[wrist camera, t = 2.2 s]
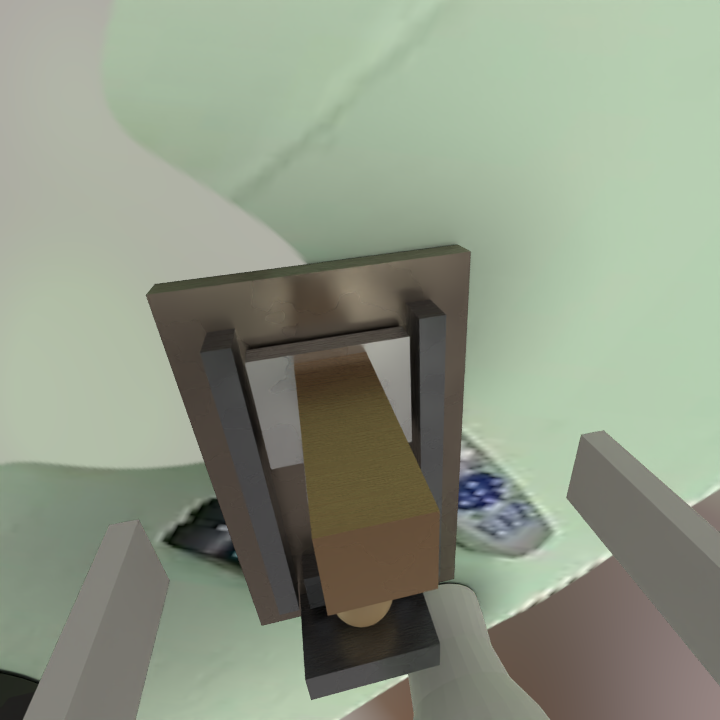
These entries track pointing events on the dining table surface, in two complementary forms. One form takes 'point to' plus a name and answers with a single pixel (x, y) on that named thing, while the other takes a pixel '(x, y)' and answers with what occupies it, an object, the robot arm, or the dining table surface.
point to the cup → (466, 667)
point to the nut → (365, 614)
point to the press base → (287, 484)
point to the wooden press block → (352, 461)
